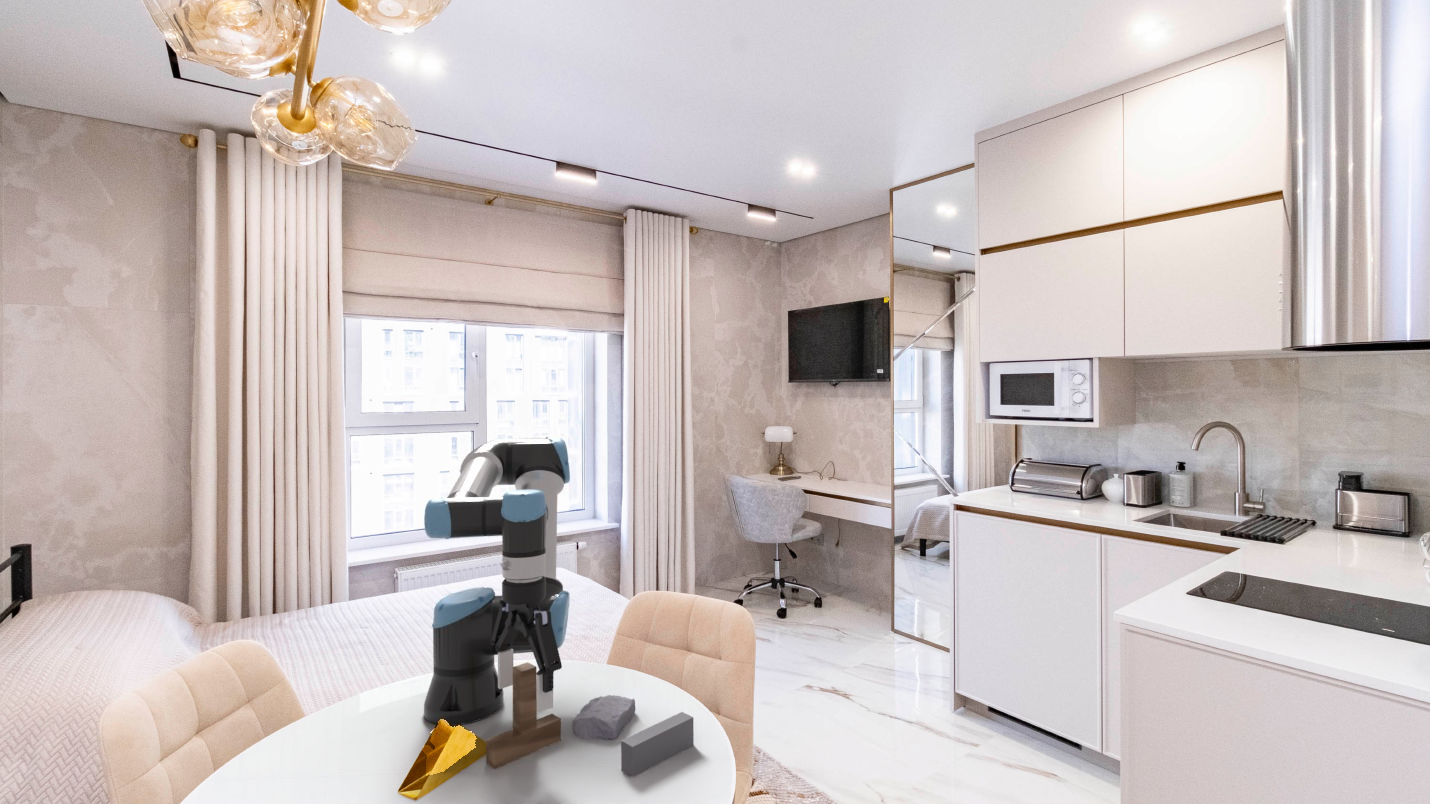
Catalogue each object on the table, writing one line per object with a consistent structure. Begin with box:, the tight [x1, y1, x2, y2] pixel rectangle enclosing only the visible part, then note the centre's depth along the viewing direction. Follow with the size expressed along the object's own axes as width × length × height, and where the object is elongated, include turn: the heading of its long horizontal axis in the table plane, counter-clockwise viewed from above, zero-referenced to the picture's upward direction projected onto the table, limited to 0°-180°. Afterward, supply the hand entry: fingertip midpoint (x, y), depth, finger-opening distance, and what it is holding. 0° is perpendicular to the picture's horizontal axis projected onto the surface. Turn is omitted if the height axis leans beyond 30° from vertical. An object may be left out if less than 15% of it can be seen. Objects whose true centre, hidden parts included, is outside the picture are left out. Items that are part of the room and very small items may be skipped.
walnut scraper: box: [485, 661, 562, 770], centre depth 114 cm, size 3×13×15 cm, turn 136°
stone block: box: [571, 694, 636, 741], centre depth 124 cm, size 12×5×10 cm
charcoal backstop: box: [620, 711, 695, 778], centre depth 112 cm, size 3×14×5 cm, turn 136°
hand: (524, 697), depth 114 cm, fingers open, 13 cm apart
